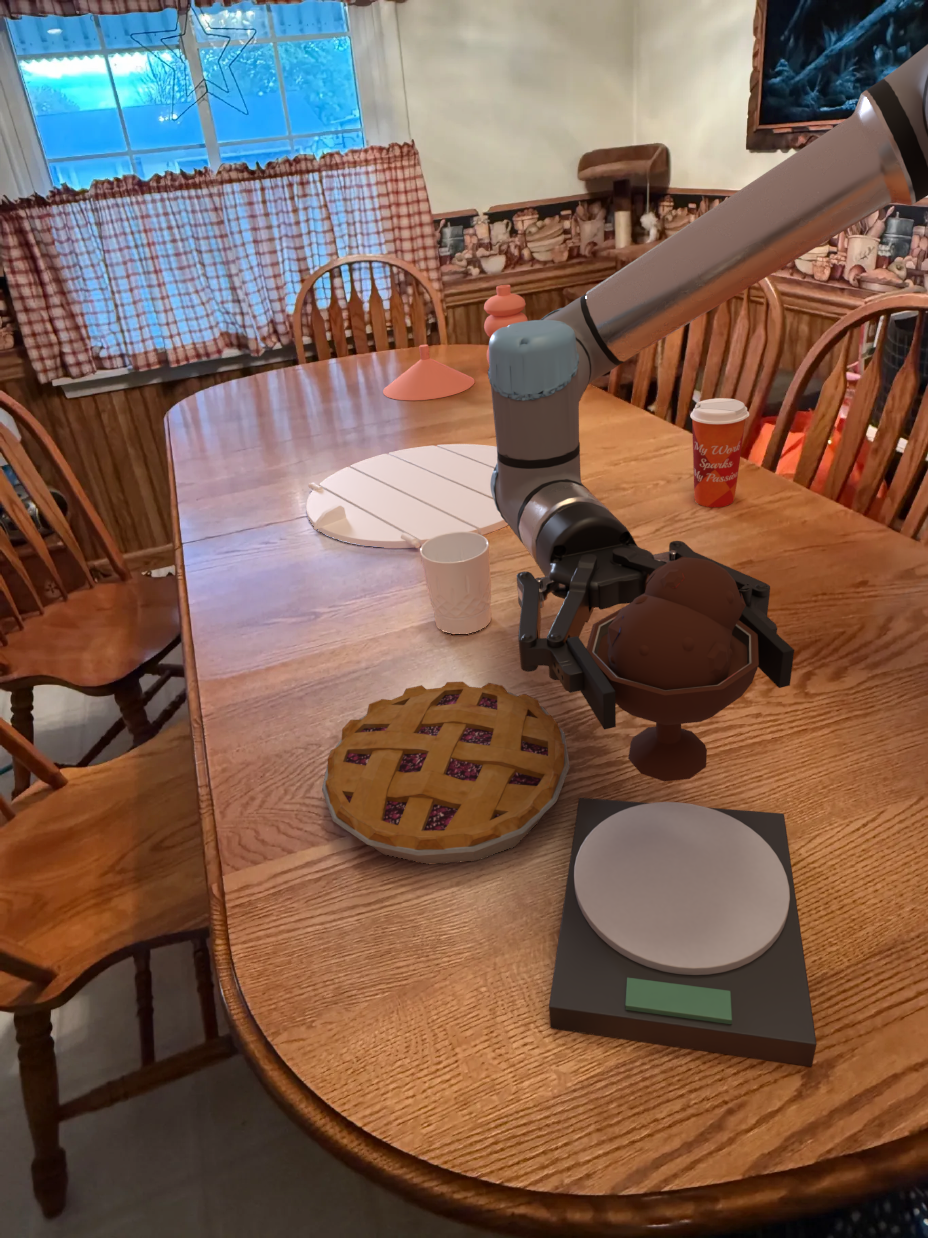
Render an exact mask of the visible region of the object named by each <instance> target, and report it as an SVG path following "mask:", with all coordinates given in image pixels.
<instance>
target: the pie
mask: <svg viewBox="0 0 928 1238" xmlns="http://www.w3.org/2000/svg"><path fill="white" fill-rule="evenodd" d="M569 769H570V760H569V751H568V746H567V739H566V733H565V731H563V729H562V728H561V726H559V724H558V723H557V721H556V719H554V717H553V716H552V715H551V714H550V713H549V712H548V711H547V710H546V709H545V708H544V707H543V706H542V705H541V703H540V702H539V699H537V698H535V697H533V696H530V695H528V694H526V693H522V694H519V695H517V694H515V693H513V692H510V691H508V690H507V689H506V688H505V686H504V685H503V684H498V683H497V684H496V683H491V682H488V683H486V684H485V685H483V686H482V687H476V686H470V685H468V684H467V683H466V682H464V681H446V683H444V685H443V686H441V687H435V688H425V687H424V686H423V684H421V685H416V686H412V687H408V688H405V689H404V691H403V693H402V695H400V696H398V697H397V696H396V697H395V698H392V699H386V698H381V699H379V700H376V701H373V702H370V703H369V704H368V707H367V711H366V714H364V715H363V716H362V717H360V718H358V719H350V720H349V721H348V722H347V723H346V724H345V726H343V728H342V729H341V739H340V740H339V741H338V743H337V744H336V745H335V747H334V748H332V749H331V750H330V752H329V754H328V757H327V764H326V770H325V772H324V773H325V774H324V778H323V781H322V787H321V791H322V794H323V797H324V800H325V803H326V805H327V808H328V811H329V813H330V817H331V820H332V821H333V823H335V824H336V825H338V826H340V827H341V828H342V829H344V830H345V831H346V832H348V833H350V834H351V835H352V836H354V837H356V838H357V839H358V840H360V841H362V843H364V844H365V845H368V846H370V847H371V848H373V849H374V848H375V849H374V850H376V851H377V852H379V853H381V854H382V855H384V856H387V855H389V856H388V857H392V856H394V857H393V858H396V857H398V858H397V859H401V858H403V859H402V860H405V859H408V860H407V861H410V860H413V861H412V862H414V861H417V862H416V863H419V862H421V863H420V864H423V863H426V864H425V865H428V864H429V863H443V864H447V863H446V862H457V863H461V862H460V861H471V862H475V861H474V860H478V861H480V860H482V859H481V858H483V859H485V858H484V857H486V858H488V857H487V856H489V857H491V856H490V855H492V854H494V855H496V854H495V853H497V854H499V853H498V852H500V853H502V852H501V851H503V852H505V851H504V850H506V849H508V850H510V849H509V848H511V849H514V848H515V847H516V846H517V845H518V844H520V842H521V841H522V840H523V839H524V838H525V837H526V836H527V835H528V834H529V833H530V832H531V831H532V830H533V829H534V828H535V827H536V826H537V825H538V824H539V823H540V821H541V819H542V817H543V816H544V814H545V813H547V811H549V809H551V808H552V807H553V806H554V805H555V804H556V803H557V801H558V799H559V795H560V794H561V790H562V788H563V785H564V782H565V780H566V777H567V774H568V772H569ZM536 824H537V825H536ZM535 825H536V826H535ZM534 826H535V827H534ZM533 827H534V828H533ZM532 828H533V829H532ZM531 829H532V830H531ZM530 830H531V831H530ZM529 831H530V832H529ZM528 832H529V833H528ZM527 833H528V834H527ZM526 834H527V835H526ZM525 835H526V836H525ZM524 836H525V837H524ZM523 837H524V838H523ZM520 840H521V841H520ZM513 847H514V848H513ZM506 851H507V850H506ZM492 856H493V855H492ZM479 859H480V860H479ZM429 865H430V864H429Z"/></svg>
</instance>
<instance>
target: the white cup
mask: <svg viewBox="0 0 928 1238" xmlns="http://www.w3.org/2000/svg"><path fill="white" fill-rule="evenodd" d="M419 548H420V549H419V554H420V559H421V564H422V568H423V573H424V578H425V583H426V584H425V585H426V589H427V592H428V593H427V594H428V598H429V601H430V605H431V607H432V612H433V617H434V621H435V622H434V623H435V627H437V626H438V627H439V628H440V629H441V630H444V631H447V632H450V633H455V634H459V633H460V634H466V633H470V632H476V631H478V630H480V629H482V628H484V627H485V626H487V625H489V624H490V622H491V621H492V605H491V604H492V602H491V600H492V577H491V558H490V542H489V540H488V538H486V537H485V536H484V535H480V534H477V533H473V532H450V533H445V534H441V535H438V536H435V537H433V538H431V539H429V540H428V541H426V542H425V543H424V544H423V545H422V546H420V547H419ZM438 627H437V628H438ZM487 627H488V626H487ZM439 628H438V629H439ZM485 628H486V627H485ZM485 628H484V629H485ZM440 629H439V630H440ZM441 630H440V631H441ZM482 630H483V629H482ZM480 631H481V630H480ZM476 633H477V632H476Z"/></svg>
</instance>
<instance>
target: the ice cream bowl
mask: <svg viewBox="0 0 928 1238" xmlns="http://www.w3.org/2000/svg"><path fill="white" fill-rule="evenodd" d="M646 584H647V587H646V590H645V593H644V594H642V595H640V596H639V597H637V598H635V599H634V600H633V602H631V603H627V604H625V605H624V606H623V607H621V608H619V609H618V610H616V611H613V612H612V613H611V614H608V615H607V616H605V617H603V618H601V619H600V620H598V621H595V622H594V623H593V624H592V627H591V630H590V634H589V637H588V641H587V645H586V649H587V650H588V652H589V653H590V655H591V656H592V658H593V659H594V661H595V662H596V664H597V665H598V667H599V668H600V669H601V671H602V672H603V674H604V675H605V677H606V678H607V680H608V681H609V683H610V684H611V686H612V687H613V689H614V690H615V703H616V706H618V707H619V708H620V710H622V711H624V712H626V713H627V714H629V715H631V716H633V717H635V718H636V717H637V718H639V719H643V720H646V721H650V722H653V723H655V725H654V726H648V727H646V728H645V729H643V730H642V731H640V732H639V733H637V734H636V735H634V736H633V737H632V739H631V741H630V744H629V752H628V756H627V759H628V761H630V763H631V764H632V765H633V766H634V767H635V769H636V770H637V771H638V772H639V773H640V774H641V775H644V776H647V777H649V778H653V779H655V780H659V781H661V782H665V783H666V782H675V781H682V780H683V781H684V780H690V779H692V778H693V777H694V776H696V775H697V774H699V773H700V772H701V771H703V770H704V769H705V768H706V767H707V759H708V758H707V756H708V755H707V754H708V750H707V749H708V748H707V747H706V744H705V743H704V742H703V741H702V740H701V738H699V736H698V735H696V734H695V733H694V732H693V731H692V730H688V729H685V728H682V725H683V724H684V725H685V724H692V723H701V722H704V721H706V720H708V719H710V718H713V717H714V716H716V715H717V714H718V713H720V712H721V711H723V710H724V709H726V708H727V707H729V706H730V705H732V704H733V703H734V702H735V701H737V700H738V699H740V698H741V697H743V695H744V694H745V693H746V691H747V690H748V689H749V687H750V686H751V685H752V684H753V681H754V679H755V677H756V673H757V671H758V668H759V667H758V665H759V659H758V634H757V633H755V632H754V631H753V630H751V629H750V628H749V627H747V626H746V625H745V624H743V623H742V622H741V621H739V618H740V616H741V613H742V611H743V610H744V608H745V606H746V604H745V602H744V599H743V596H742V594H740V593H739V591H738V588H737V585H736V582H735V580H734V579H733V578H732V577H731V575H730V574H729V573H728V572H727V571H726V570H725V569H724V568H722V567H720V566H719V565H717V564H715V563H714V562H711V561H708V560H704V559H698V558H688V557H681V558H679V559H678V560H674V561H670V562H668V563H666V564H665V565H663V566H660V567H658V568H657V569H656V570H655V571H653V572H652V573H651V575H650V576H649V577H648V579H647V582H646Z"/></svg>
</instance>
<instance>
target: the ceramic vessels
mask: <svg viewBox="0 0 928 1238" xmlns="http://www.w3.org/2000/svg"><path fill="white" fill-rule="evenodd" d="M495 288H496V289H495V290H496V294H495V295H493V296H491V297H489V298H488V299H487V300H486V301H485V302H484V306H483V310H484V311H485V312H486V314H487V315H488V316H487V317H486V319H485V320H484V325H483V328H484V332H485V334H486V336H487V337H489V339H490V338H491V336H492V335H493V333H494V332H496V331H497V330H498V329H500V328H502V327H507V326H508V325H510V324H514V323H518V322H524V321H529V319H528V317H527V315H526V314H525V313H523V312H522V311H524V309H525V306H526V305H527V304H526V300H525V298H523V296H521V295H520V294H516V293H512V290H511V285H510V284H501V285H497V286H496V287H495ZM418 348H419V349H418V351H419V355H420V359H419V360H418V361H417V362H415V363H414V364H413V365H412V366H410V367H409V368H408V369H407V370H405V371H404V372H403V373H402V374H399V376H398V377H397V378H395V379H394V380H393V381H392V382H390V383H389V384H387V386H385V387H384V389H383V391H382V393H383V395H384V396H385V397H387V398H389V399H393V400H397V401H425V400H426V401H427V400H436V399H441V398H446V397H450V396H453V395H456V394H460V393H462V392H464V391H467V390H469V389H470V388H472V387H473V386H474V384H475V383H476V382H475V379H474V378H473V377H472V376H470V375H467V374H465V373H463V372H461V371H459V370H457V369H455V368H453V367H451V366H448V365H446V364H444V363H442V362H440V361H437V360H435V359H433V358H431V357H430V348H429V344H420V345H419V346H418ZM486 360H487V363H488V364H489V346H487V350H486Z"/></svg>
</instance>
